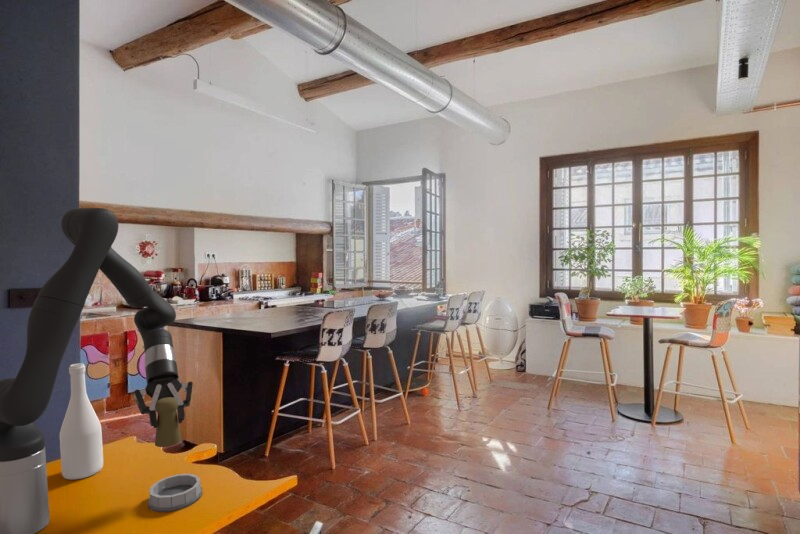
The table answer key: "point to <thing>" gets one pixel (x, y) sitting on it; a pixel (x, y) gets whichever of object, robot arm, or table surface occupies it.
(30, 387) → the robot arm
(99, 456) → the wine bottle
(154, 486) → the small gray bowl
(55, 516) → the table surface
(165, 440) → the cork
